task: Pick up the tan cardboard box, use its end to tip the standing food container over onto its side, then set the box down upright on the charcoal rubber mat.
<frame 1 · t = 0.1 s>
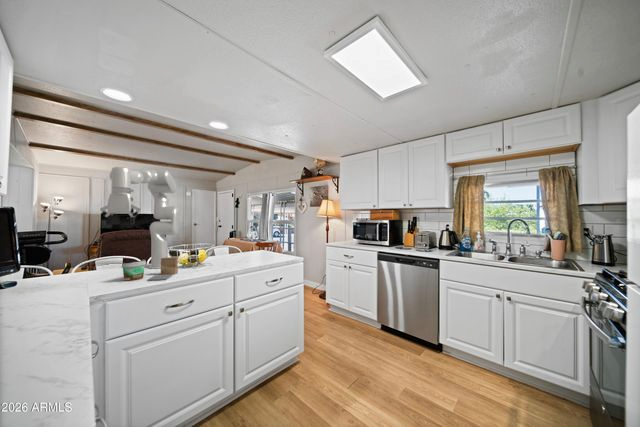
hand: (120, 224, 119), 31 cm above the counter, tool pointing down, fingers open, 9 cm apart
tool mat: (160, 278, 133), on the counter
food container: (136, 279, 131), on the counter
tan cardboard box: (169, 274, 143), on the counter
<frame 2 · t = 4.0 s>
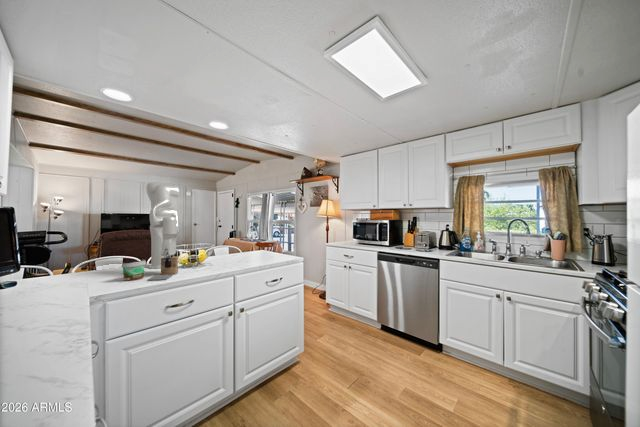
hand: (169, 266, 143), 5 cm above the counter, tool pointing down, fingers closed on tan cardboard box, 3 cm apart
tan cardboard box: (169, 274, 143), on the counter, touching gripper
everything else where it was.
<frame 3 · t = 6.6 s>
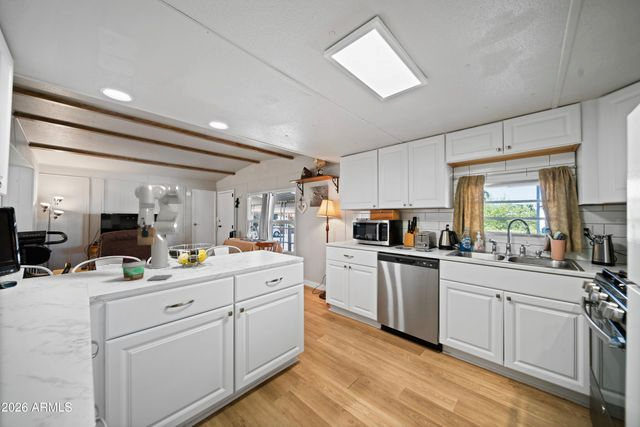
hand: (146, 236, 140), 23 cm above the counter, tool pointing down, fingers closed on tan cardboard box, 3 cm apart
tan cardboard box: (146, 244, 140), point 18 cm above the counter, touching gripper
everything else where it was.
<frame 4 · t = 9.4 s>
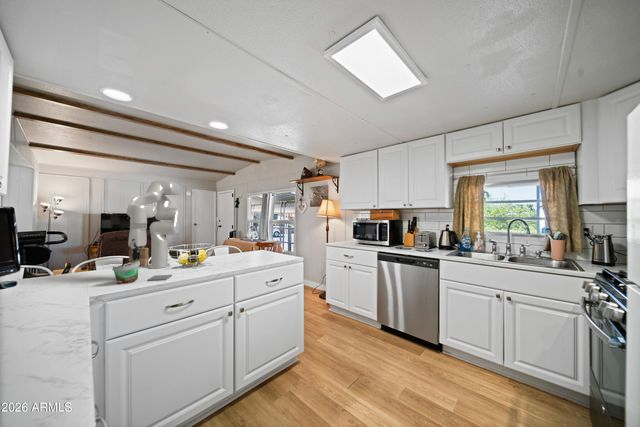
hand: (138, 258, 132), 11 cm above the counter, tool pointing down, fingers closed on tan cardboard box, 3 cm apart
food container: (130, 281, 126), on the counter, touching gripper, tan cardboard box
tan cardboard box: (138, 266, 132), point 7 cm above the counter, touching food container, gripper
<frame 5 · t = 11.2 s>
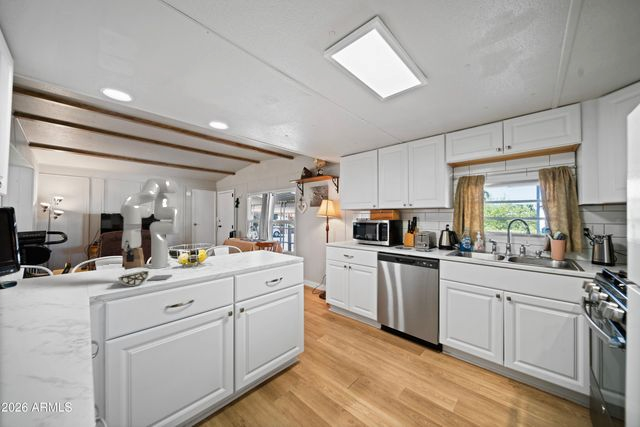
hand: (132, 260, 127), 11 cm above the counter, tool pointing down, fingers closed on tan cardboard box, 3 cm apart
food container: (134, 278, 125), point 2 cm above the counter
tan cardboard box: (135, 267, 127), point 8 cm above the counter, tilted 9°, touching gripper
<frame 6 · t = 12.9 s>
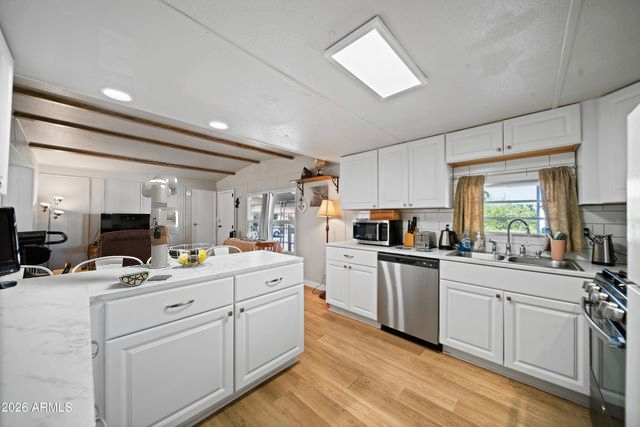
hand: (158, 238, 133), 23 cm above the counter, tool pointing down, fingers closed on tan cardboard box, 3 cm apart
tan cardboard box: (161, 244, 133), point 19 cm above the counter, tilted 9°, touching gripper
everything else where it was.
when the fingers open (8 cm above the counter, at t = 16.2 s): tan cardboard box drops 3 cm, resting on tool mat.
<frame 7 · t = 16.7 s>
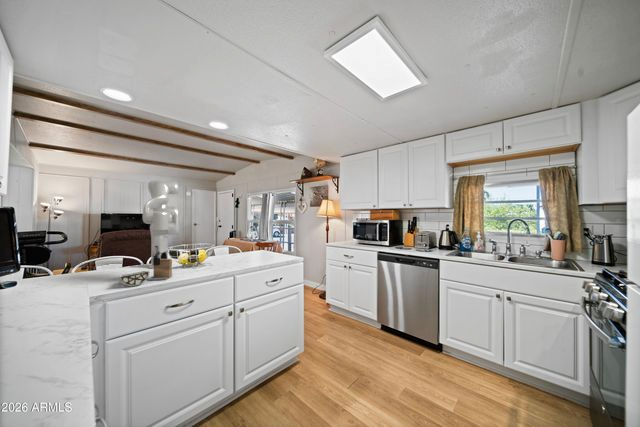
hand: (160, 263, 133), 9 cm above the counter, tool pointing down, fingers open, 8 cm apart
tan cardboard box: (162, 276, 133), point 1 cm above the counter, touching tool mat
everything else where it was.
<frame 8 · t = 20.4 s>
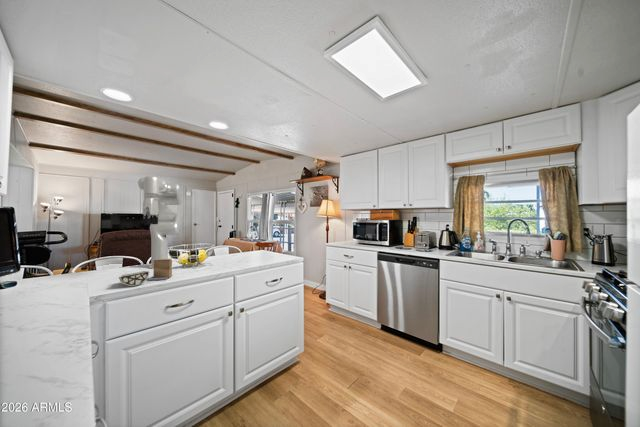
hand: (151, 224, 143), 30 cm above the counter, tool pointing down, fingers open, 9 cm apart
nothing on the counter moved.
at the end: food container tilted 82°; tan cardboard box inside the target area on the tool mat (1.3 cm from its centre), point 0.8 cm above the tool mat's base; tan cardboard box tilted 0° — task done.
